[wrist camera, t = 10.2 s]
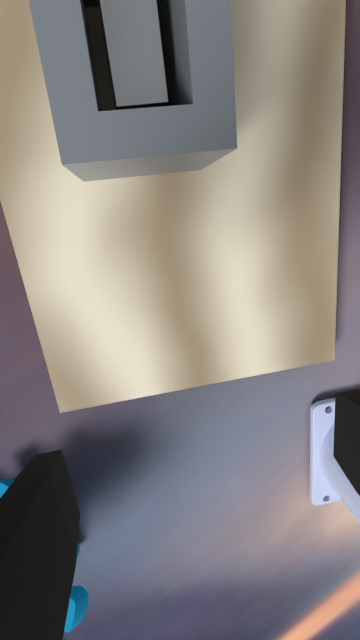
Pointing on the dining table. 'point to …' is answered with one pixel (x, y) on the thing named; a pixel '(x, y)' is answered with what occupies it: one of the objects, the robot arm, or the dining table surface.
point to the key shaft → (134, 53)
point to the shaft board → (184, 220)
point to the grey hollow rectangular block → (141, 123)
